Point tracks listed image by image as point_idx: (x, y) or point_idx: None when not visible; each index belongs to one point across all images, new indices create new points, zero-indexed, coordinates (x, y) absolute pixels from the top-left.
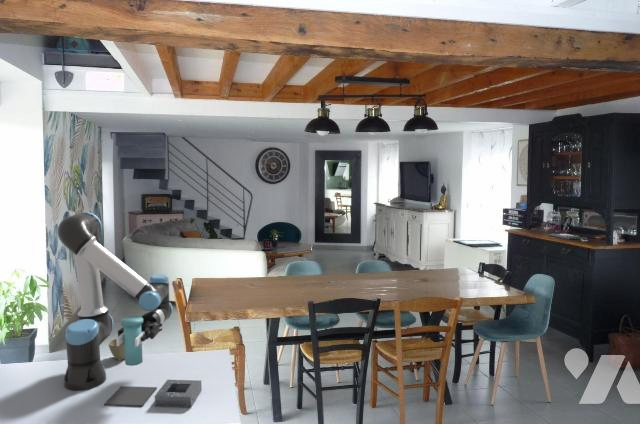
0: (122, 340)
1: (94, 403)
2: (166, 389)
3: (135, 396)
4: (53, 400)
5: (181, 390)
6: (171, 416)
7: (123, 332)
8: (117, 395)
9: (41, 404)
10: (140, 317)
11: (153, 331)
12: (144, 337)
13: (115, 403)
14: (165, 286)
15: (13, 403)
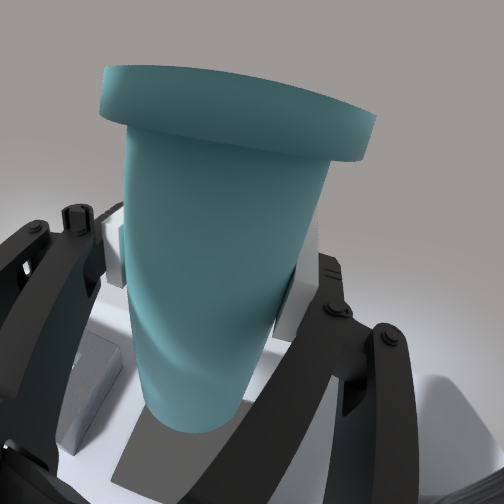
0: None
1: (312, 429)
2: (76, 371)
3: (185, 437)
4: (420, 445)
5: None
6: (95, 307)
7: (326, 299)
8: None
9: (431, 426)
10: (126, 66)
11: (17, 233)
12: (116, 206)
13: (245, 406)
14: None
15: (474, 424)
